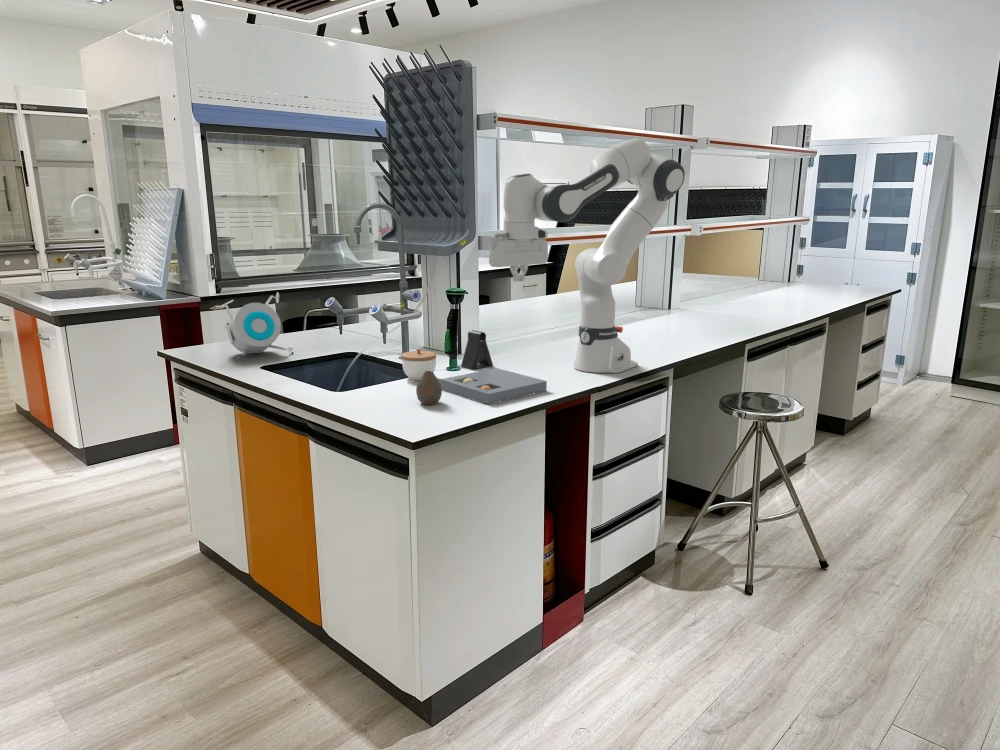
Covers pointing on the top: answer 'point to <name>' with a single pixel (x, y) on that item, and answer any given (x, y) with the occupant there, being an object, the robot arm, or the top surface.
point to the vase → (429, 389)
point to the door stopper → (476, 352)
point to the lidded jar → (418, 363)
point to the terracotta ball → (486, 387)
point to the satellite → (254, 327)
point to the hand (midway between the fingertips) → (518, 281)
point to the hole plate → (493, 385)
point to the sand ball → (468, 380)
